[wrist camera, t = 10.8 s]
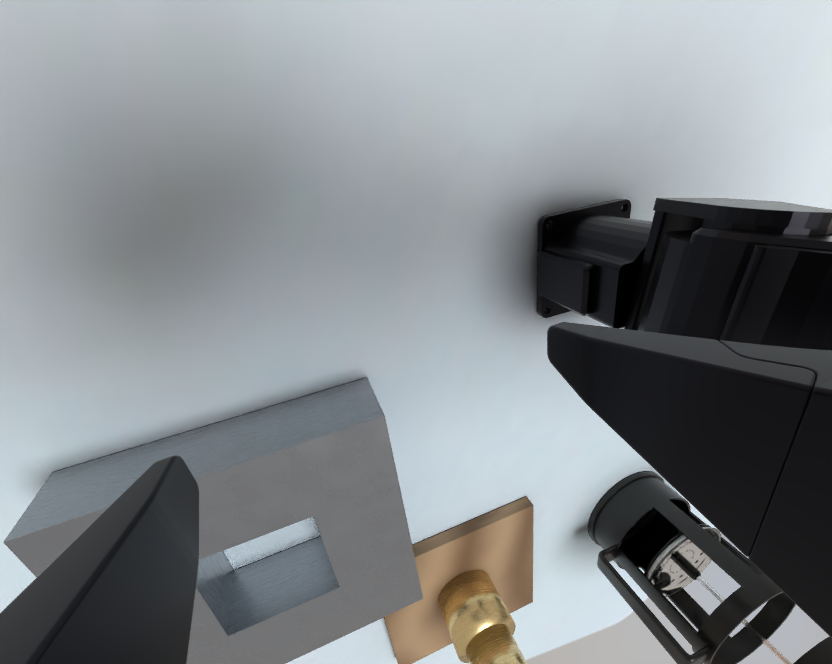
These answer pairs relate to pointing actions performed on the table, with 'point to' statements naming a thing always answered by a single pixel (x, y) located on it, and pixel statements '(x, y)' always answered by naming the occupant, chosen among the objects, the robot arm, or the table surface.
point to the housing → (264, 523)
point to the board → (456, 554)
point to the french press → (687, 574)
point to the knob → (479, 620)
